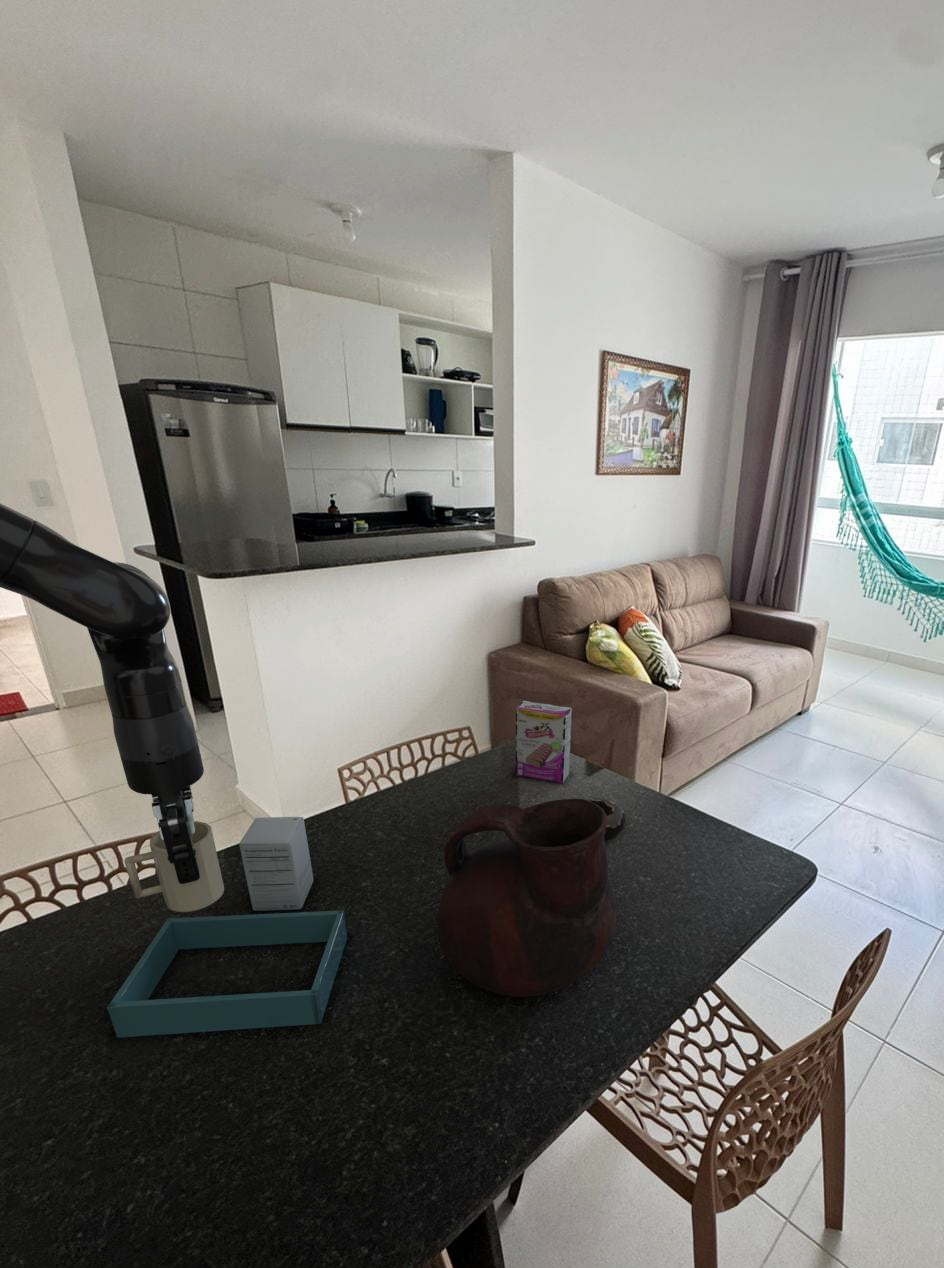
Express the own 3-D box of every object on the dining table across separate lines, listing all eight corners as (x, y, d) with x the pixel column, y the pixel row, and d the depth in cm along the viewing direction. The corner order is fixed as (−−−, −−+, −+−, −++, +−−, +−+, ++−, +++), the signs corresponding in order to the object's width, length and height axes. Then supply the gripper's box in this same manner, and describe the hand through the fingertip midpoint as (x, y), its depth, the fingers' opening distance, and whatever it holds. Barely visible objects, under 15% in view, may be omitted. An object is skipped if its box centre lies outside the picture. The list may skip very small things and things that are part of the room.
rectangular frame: (117, 1037, 80) (106, 1007, 78) (175, 945, 94) (167, 918, 92) (320, 1024, 83) (316, 994, 81) (347, 937, 98) (344, 910, 96)
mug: (222, 874, 88) (209, 816, 84) (226, 902, 83) (213, 842, 79) (139, 895, 83) (121, 835, 79) (138, 926, 78) (119, 863, 75)
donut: (554, 818, 130) (554, 801, 128) (606, 806, 135) (608, 789, 133) (581, 850, 120) (581, 831, 119) (636, 835, 126) (637, 817, 124)
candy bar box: (514, 777, 144) (514, 708, 138) (522, 766, 149) (522, 699, 142) (563, 785, 142) (565, 715, 135) (570, 774, 147) (572, 706, 140)
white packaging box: (267, 882, 108) (255, 816, 103) (315, 880, 109) (305, 815, 104) (251, 912, 101) (236, 843, 96) (301, 910, 102) (290, 842, 97)
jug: (502, 881, 111) (501, 748, 101) (640, 932, 101) (653, 791, 91) (400, 981, 90) (385, 826, 80) (560, 1057, 81) (566, 892, 71)
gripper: (121, 726, 79) (152, 843, 85) (116, 778, 68) (152, 908, 74) (193, 715, 82) (218, 828, 89) (200, 763, 71) (228, 888, 78)
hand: (188, 864), depth 82 cm, fingers closed on mug, 6 cm apart
